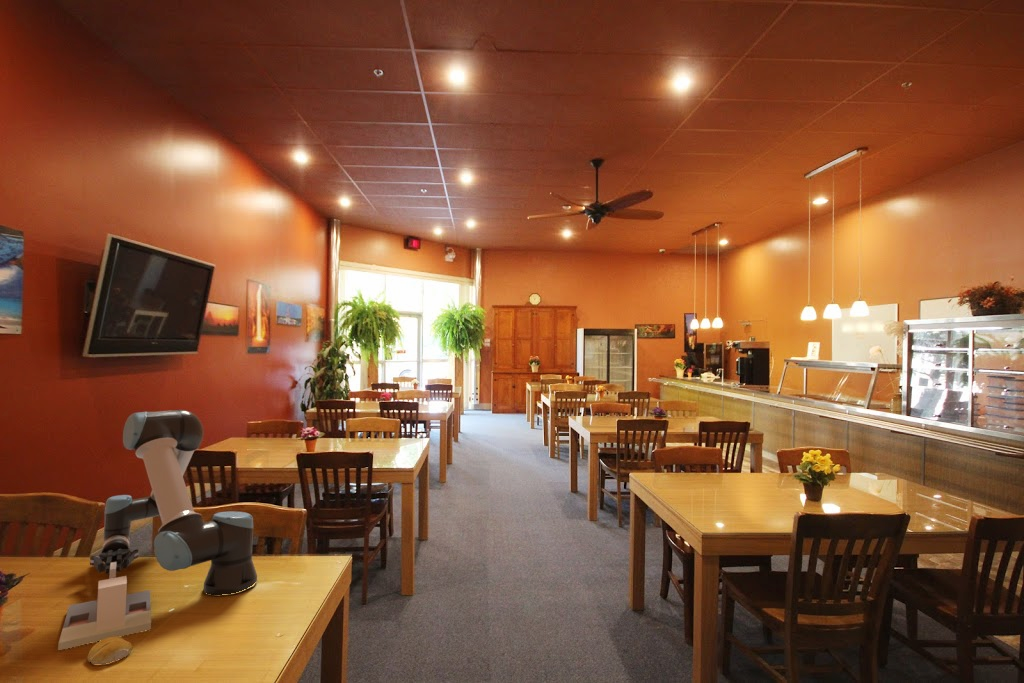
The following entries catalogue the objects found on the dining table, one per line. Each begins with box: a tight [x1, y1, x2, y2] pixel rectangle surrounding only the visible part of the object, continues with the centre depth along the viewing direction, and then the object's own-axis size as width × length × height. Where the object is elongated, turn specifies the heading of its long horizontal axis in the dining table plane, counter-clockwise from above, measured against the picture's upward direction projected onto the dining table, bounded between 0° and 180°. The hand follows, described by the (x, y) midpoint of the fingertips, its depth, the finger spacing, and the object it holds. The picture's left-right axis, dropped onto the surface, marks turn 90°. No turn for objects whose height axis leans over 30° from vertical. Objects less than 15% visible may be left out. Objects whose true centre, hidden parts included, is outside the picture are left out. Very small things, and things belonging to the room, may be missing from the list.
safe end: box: [57, 609, 152, 651], centre depth 140 cm, size 8×19×2 cm, turn 125°
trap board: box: [62, 589, 152, 629], centre depth 150 cm, size 16×19×2 cm
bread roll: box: [87, 637, 133, 665], centre depth 130 cm, size 8×9×4 cm
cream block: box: [96, 575, 128, 632], centre depth 141 cm, size 6×6×11 cm
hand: (112, 573), depth 160 cm, fingers closed
